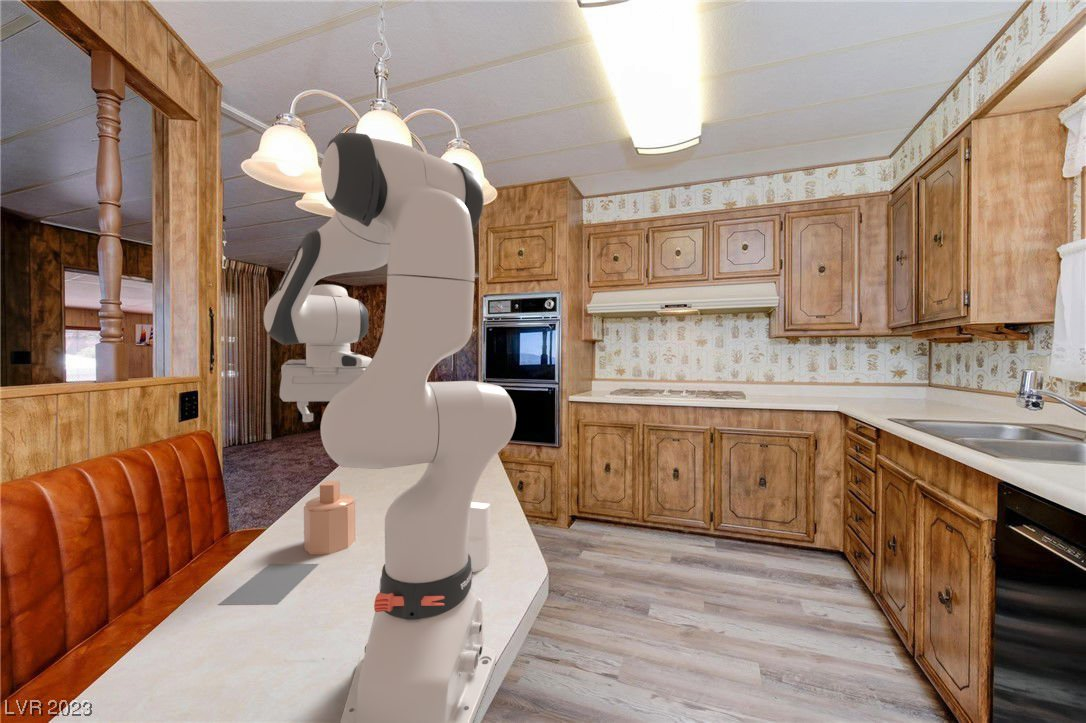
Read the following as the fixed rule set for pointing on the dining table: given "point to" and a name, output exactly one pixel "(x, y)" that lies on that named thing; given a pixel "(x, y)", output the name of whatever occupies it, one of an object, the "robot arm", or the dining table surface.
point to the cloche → (329, 520)
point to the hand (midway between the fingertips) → (329, 421)
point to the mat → (270, 585)
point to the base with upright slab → (479, 535)
